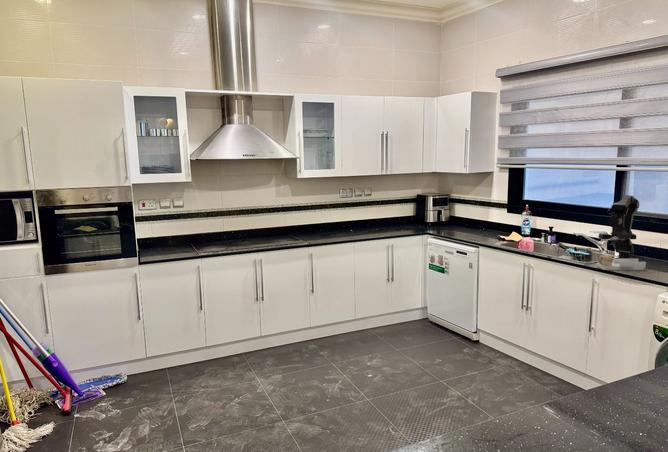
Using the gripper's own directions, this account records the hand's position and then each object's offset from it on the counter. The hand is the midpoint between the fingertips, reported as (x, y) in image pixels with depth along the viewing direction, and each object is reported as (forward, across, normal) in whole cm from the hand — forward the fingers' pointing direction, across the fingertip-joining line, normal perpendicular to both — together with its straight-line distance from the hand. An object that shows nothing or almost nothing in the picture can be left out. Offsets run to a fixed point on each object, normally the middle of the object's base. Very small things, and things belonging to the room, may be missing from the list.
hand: (616, 250), depth 270 cm
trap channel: (+11, +3, 0) cm, 11 cm away
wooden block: (+9, -5, 0) cm, 10 cm away
